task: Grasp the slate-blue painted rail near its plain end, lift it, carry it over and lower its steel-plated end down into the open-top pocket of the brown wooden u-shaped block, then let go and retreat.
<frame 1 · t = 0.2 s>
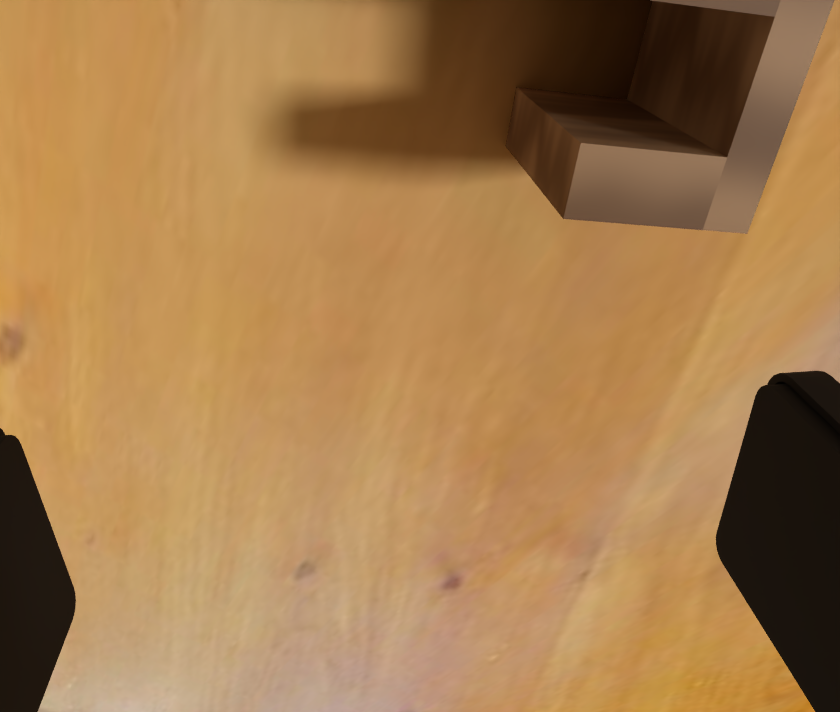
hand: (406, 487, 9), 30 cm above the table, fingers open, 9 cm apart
brown wooden u-shaped block: (602, 43, 35), on the table
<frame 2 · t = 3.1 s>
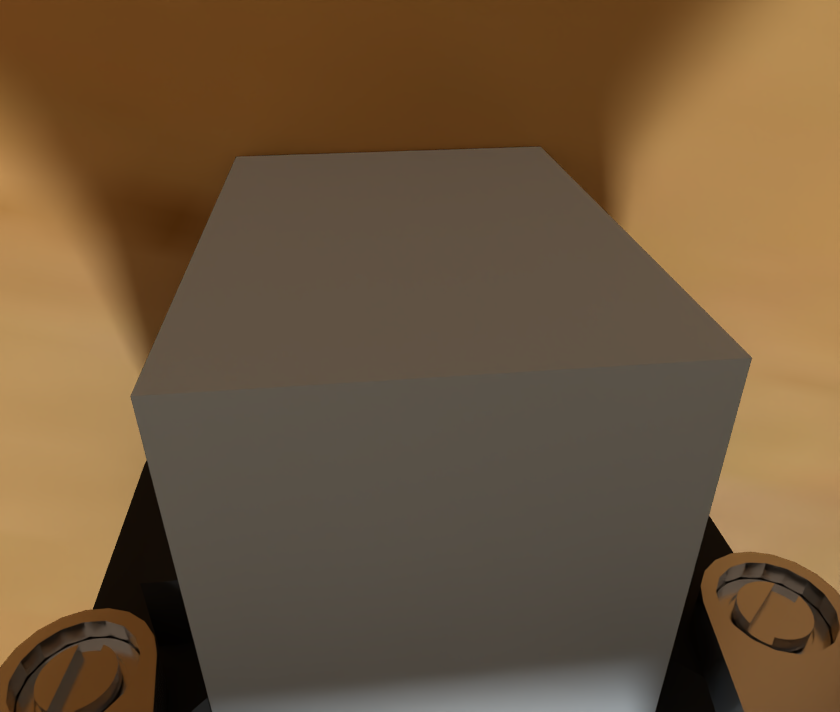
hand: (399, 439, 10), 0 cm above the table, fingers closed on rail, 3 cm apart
rail: (402, 569, 12), on the table, touching gripper
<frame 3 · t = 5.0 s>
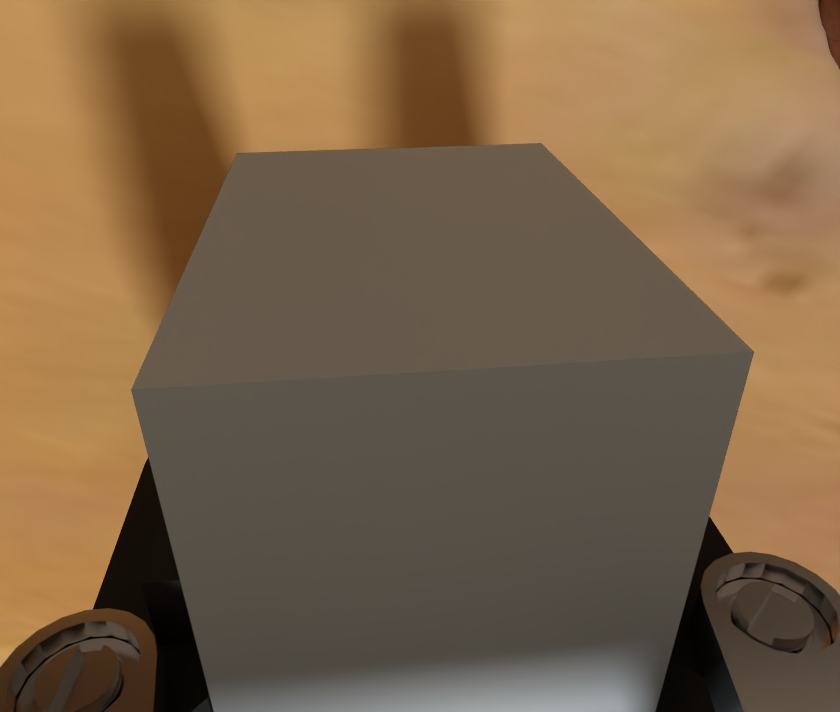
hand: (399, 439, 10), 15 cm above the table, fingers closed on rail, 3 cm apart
rail: (402, 567, 12), point 15 cm above the table, touching gripper
when the fingers open (4 cm above the table, at t = 7.0 s): rail drops 3 cm, resting in brown wooden u-shaped block.
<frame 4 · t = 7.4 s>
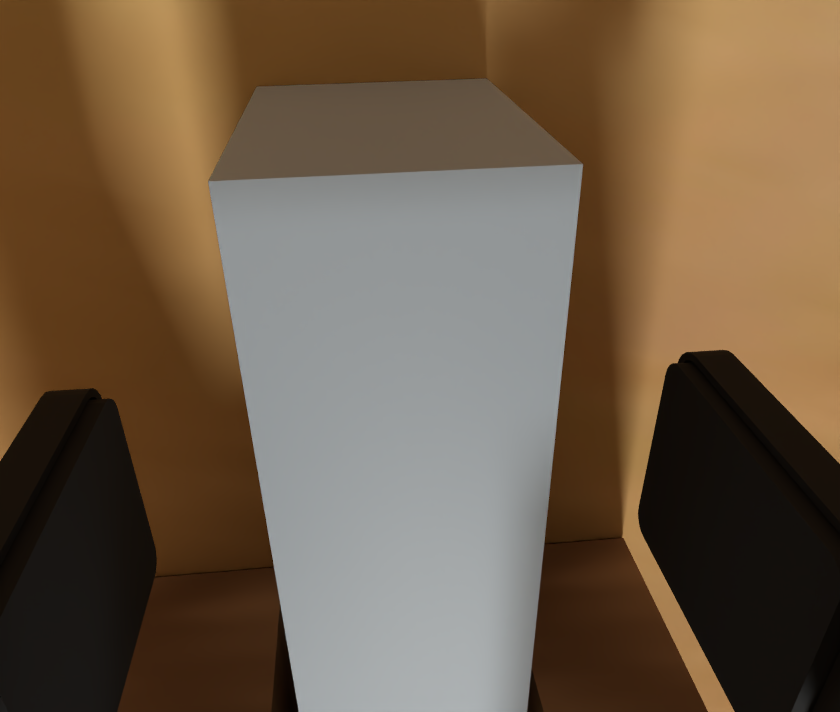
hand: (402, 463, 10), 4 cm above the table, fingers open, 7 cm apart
brown wooden u-shaped block: (396, 667, 18), on the table
rail: (389, 440, 15), resting in brown wooden u-shaped block
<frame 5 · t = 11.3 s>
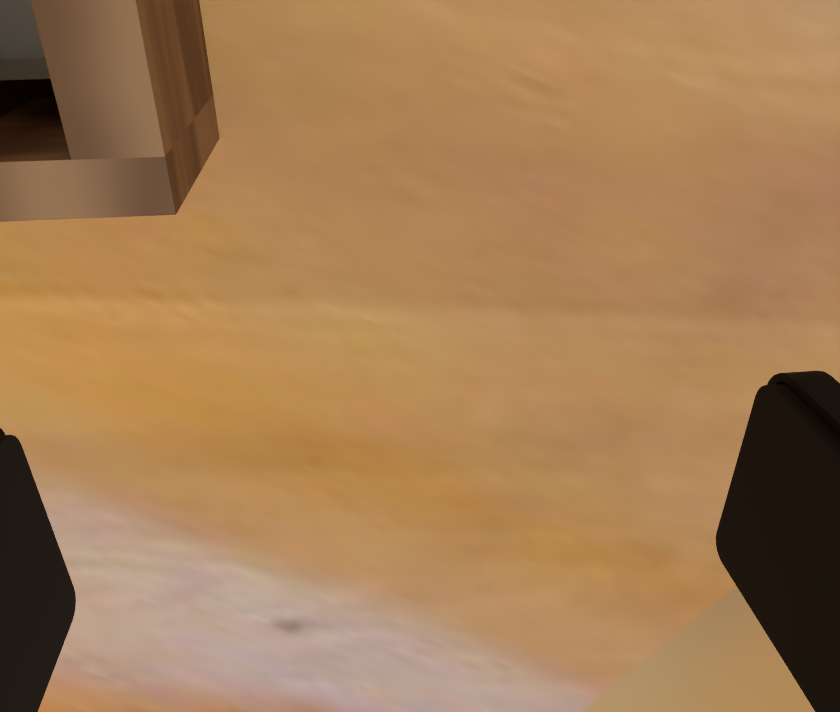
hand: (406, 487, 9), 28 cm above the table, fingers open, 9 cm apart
brown wooden u-shaped block: (79, 50, 31), on the table
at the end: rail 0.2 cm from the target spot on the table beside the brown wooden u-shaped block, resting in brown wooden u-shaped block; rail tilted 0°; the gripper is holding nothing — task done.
